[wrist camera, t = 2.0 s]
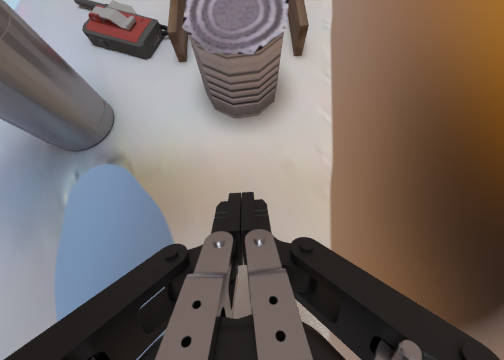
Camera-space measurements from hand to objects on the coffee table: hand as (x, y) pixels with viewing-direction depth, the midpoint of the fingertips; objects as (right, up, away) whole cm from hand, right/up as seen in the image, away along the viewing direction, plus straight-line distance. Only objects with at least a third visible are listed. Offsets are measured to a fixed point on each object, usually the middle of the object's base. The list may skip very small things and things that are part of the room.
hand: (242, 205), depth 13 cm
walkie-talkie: (-24, +28, +25) cm, 44 cm away
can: (-1, +16, +20) cm, 26 cm away
